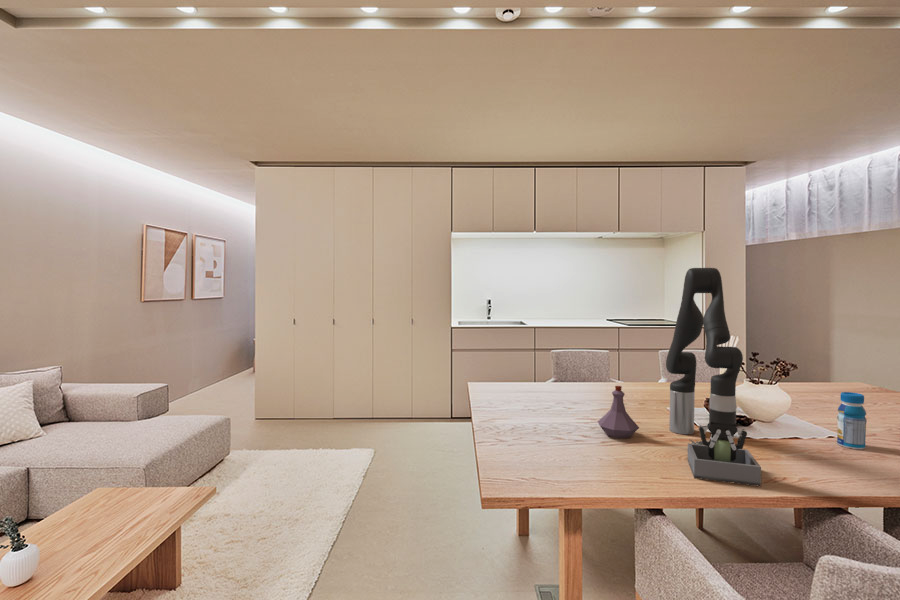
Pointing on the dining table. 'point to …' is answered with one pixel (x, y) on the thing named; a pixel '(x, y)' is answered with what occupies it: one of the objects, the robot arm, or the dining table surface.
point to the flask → (618, 418)
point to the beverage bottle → (851, 421)
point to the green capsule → (722, 450)
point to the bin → (724, 466)
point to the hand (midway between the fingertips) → (721, 459)
